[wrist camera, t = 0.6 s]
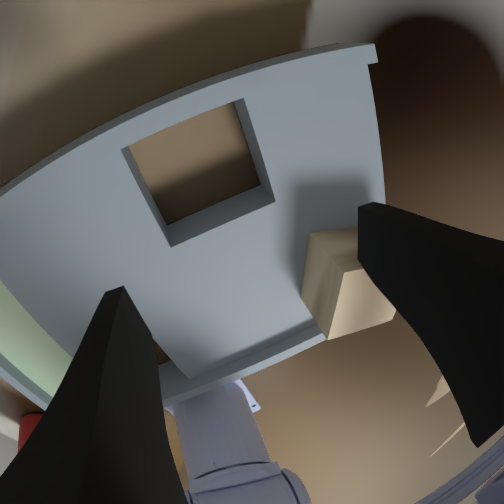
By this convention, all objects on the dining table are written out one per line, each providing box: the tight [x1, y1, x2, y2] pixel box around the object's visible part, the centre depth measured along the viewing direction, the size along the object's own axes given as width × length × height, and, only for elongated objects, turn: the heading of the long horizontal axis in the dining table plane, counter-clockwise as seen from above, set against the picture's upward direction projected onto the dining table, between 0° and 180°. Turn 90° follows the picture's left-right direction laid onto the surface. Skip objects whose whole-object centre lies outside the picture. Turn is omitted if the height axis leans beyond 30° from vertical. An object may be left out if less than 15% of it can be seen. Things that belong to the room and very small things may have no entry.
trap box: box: [0, 43, 385, 411], centre depth 19 cm, size 19×29×4 cm, turn 107°
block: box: [301, 227, 396, 340], centre depth 19 cm, size 5×5×4 cm
